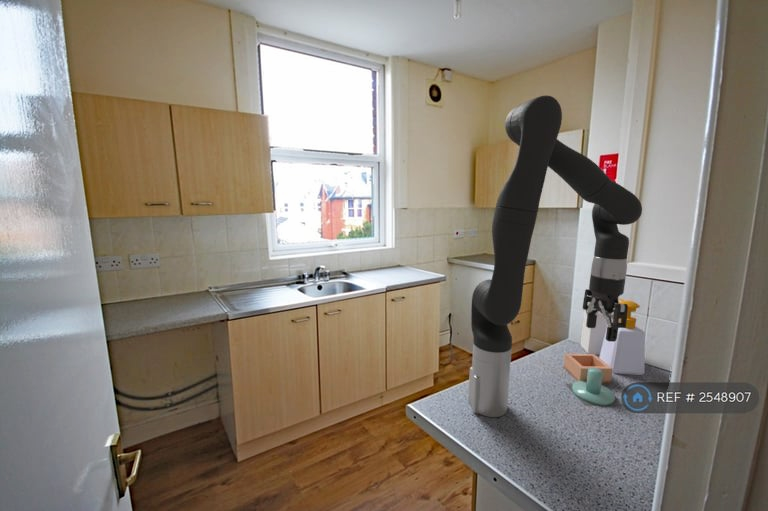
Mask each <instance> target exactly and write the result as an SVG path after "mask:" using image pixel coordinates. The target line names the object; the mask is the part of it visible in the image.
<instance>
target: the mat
mask: <svg viewBox="0 0 768 511" xmlns="http://www.w3.org/2000/svg"><path fill="white" fill-rule="evenodd" d="M564 385H565V386H566V387H567V388H568V389H569V390H570V391H571V392H572V393H573V391H572V385H573V383H564ZM575 397H576V398H577V399H578V400H579V401H580V402H581V403H582V404H583V405H584V406H595V407H596V406H599V407H600V406H601V407H602V406H612V407H613V406H615V407H617V406H620V407H621V406H624V404H622V402H620V400H618V399H617V398H616V397H615V401H614V403H613V404H610V405H596V404H592V403H589V402H586V401H584V400H582V399H580V398H579V397H577V396H576V395H575Z"/></svg>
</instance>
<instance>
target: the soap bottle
mask: <svg viewBox="0 0 768 511" xmlns="http://www.w3.org/2000/svg"><path fill="white" fill-rule="evenodd" d="M618 301H619V303H621V304H627V305H628V311H627V322H626V328H618V333H617V339H616V341H614V342H611V341H607V340H606V333H605V337H604V341H603V345H602V349H601V353H600V355H599V357H598V358H600V359H601V360H602V361H604V362H605V363H606V364H607V365H609V366H610V367H611V368H613V369H612V374H619V375H633V376H634V375H636V376H643V375H644V374H645V359H646V358H645V354H646V352H645V351H646V334H645V333H646V332H645V331H644V330H643V329H641V328H640V327H638V326H637V325H636V323H637V318H636V317H634V316H631V315H632V313H635V312H636V311H637V309H639V308H640V307H641V306H640V305H639V304H638V303H637V302H635V301H632V300H625V299H622V298H620V297H618ZM619 321H620V323H621V319H619ZM612 323H613V322H612ZM607 326H608V325H607ZM606 332H607V329H606Z"/></svg>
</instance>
